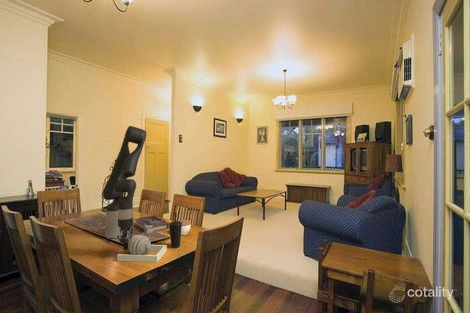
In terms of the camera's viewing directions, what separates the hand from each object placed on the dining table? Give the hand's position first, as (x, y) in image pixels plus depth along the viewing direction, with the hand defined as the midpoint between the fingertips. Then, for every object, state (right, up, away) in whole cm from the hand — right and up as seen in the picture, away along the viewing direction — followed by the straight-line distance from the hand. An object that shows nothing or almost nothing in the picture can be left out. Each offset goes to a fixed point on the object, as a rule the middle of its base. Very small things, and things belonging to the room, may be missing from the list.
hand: (125, 249), depth 133 cm
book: (-3, -2, +50) cm, 50 cm away
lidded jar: (+23, -2, +35) cm, 42 cm away
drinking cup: (+24, -3, +12) cm, 26 cm away
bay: (+9, -3, 0) cm, 9 cm away
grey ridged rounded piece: (+8, -3, -2) cm, 9 cm away
